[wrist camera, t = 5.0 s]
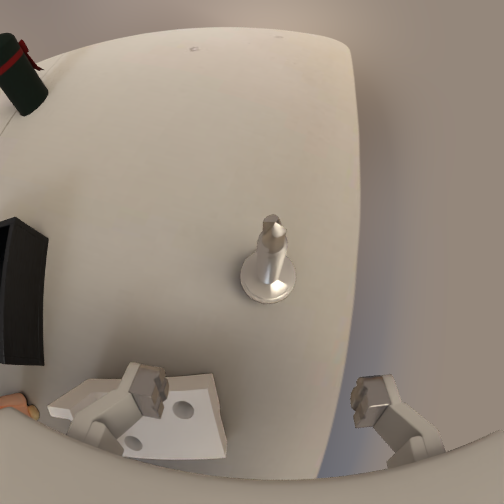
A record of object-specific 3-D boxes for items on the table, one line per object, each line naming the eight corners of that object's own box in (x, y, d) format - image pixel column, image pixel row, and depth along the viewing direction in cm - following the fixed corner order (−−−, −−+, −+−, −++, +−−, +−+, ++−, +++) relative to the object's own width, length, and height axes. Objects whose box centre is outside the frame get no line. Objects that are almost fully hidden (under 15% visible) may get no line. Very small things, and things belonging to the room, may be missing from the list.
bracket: (109, 437, 22) (78, 473, 14) (88, 378, 22) (46, 405, 15) (227, 437, 22) (222, 486, 15) (212, 373, 23) (199, 412, 15)
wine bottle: (60, 80, 41) (9, -18, 12) (33, 114, 38) (-32, 14, 9) (40, 85, 41) (-9, -2, 13) (15, 117, 38) (-46, 29, 10)
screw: (252, 249, 27) (299, 265, 27) (233, 295, 26) (283, 313, 25) (247, 171, 15) (332, 198, 14) (211, 249, 14) (307, 283, 13)
